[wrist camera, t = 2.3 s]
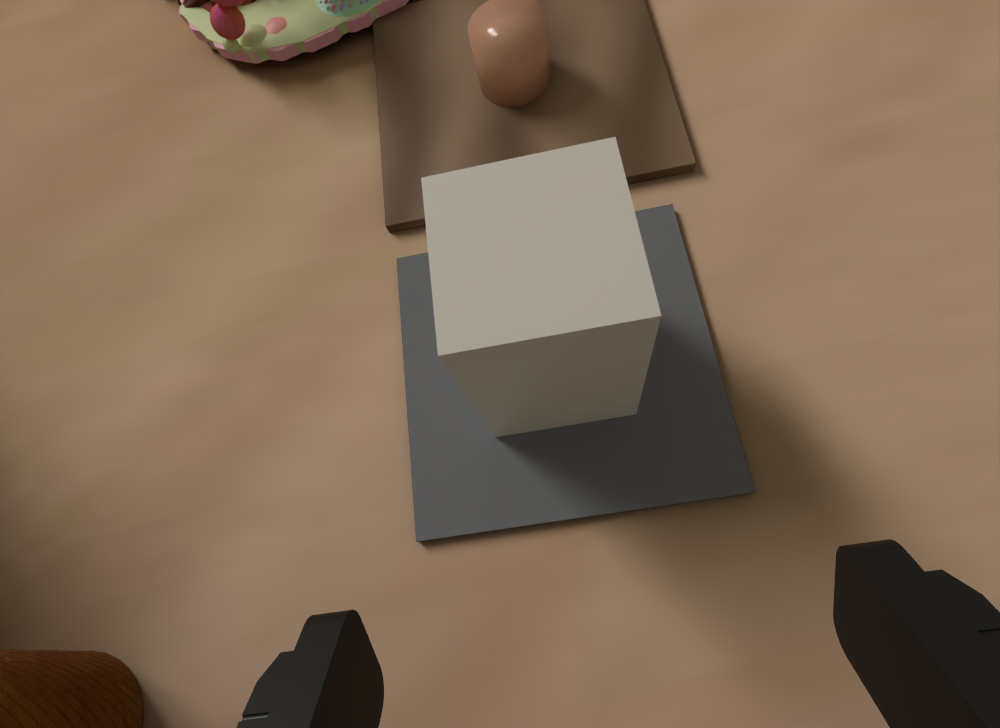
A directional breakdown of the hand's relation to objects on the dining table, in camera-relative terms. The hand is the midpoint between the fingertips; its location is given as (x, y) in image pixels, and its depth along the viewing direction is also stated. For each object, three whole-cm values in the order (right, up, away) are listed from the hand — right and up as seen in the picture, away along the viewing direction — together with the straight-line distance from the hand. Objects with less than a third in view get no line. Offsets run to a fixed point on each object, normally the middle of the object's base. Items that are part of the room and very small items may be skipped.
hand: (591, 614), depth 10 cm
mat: (+1, +4, +17) cm, 17 cm away
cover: (+1, +4, +16) cm, 17 cm away
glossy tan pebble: (-1, +20, +22) cm, 30 cm away
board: (-1, +20, +23) cm, 30 cm away
